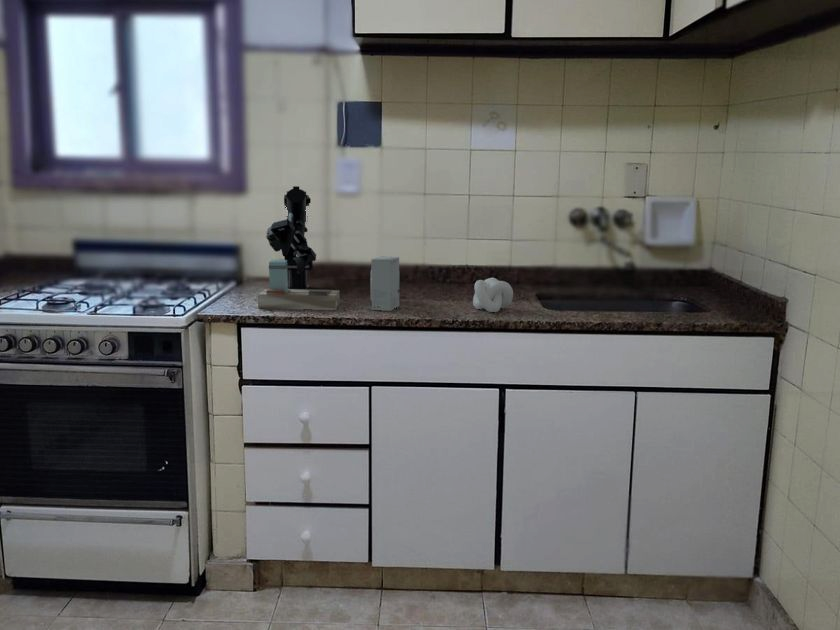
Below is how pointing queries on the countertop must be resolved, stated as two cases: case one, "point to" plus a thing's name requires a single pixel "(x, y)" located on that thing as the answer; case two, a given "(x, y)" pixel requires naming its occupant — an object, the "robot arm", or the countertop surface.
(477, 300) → the white knot
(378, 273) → the skincare box
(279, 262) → the teal lidded box
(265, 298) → the socket board
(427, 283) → the countertop surface
